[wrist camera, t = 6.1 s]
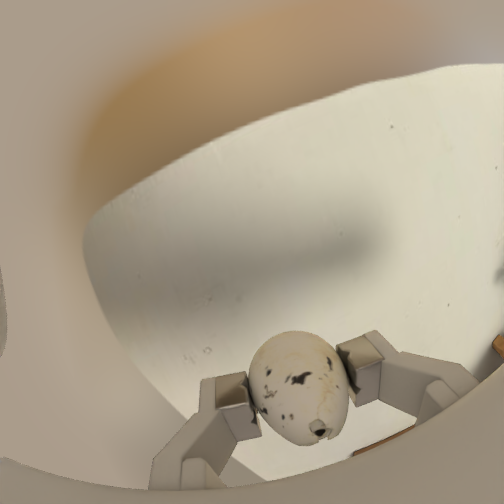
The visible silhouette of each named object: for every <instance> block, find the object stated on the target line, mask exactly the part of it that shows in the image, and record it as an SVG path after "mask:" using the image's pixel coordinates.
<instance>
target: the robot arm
mask: <svg viewBox="0 0 504 504" xmlns="http://www.w3.org/2000/svg"><path fill="white" fill-rule="evenodd" d="M336 352H337V354H338V355H339V357H340V359H341V361H342V363H343V365H344V368H345V371H346V375H347V380H348V389H349V396H350V398H351V400H352V401H353V403H354V405H355V407H359V406H362V405H364V404H367V403H369V402H372V401H374V400H377V399H379V400H380V401H382V402H384V403H386V404H388V405H391V406H393V407H395V408H397V409H399V410H401V411H404V412H406V413H408V414H410V415H412V416H415V417H417V421H416V424H415V427H414V428H413V429H411V430H409V431H408V432H406V433H404V434H402V435H400V436H398V437H396V438H394V439H392V440H390V441H388V442H386V443H384V444H382V445H379V446H377V447H375V448H373V449H370V450H368V451H366V452H363V453H361V454H358V455H356V456H353V457H351V458H348V459H346V460H343V461H340V462H337V463H334V464H331V465H328V466H325V467H322V468H319V469H316V470H312V471H309V472H305V473H302V474H298V475H294V476H290V477H286V478H282V479H277V480H272V481H267V482H262V483H256V484H250V485H245V486H237V487H229V488H228V487H227V486H226V485H225V484H224V483H223V482H222V480H221V479H220V478H219V475H220V473H221V472H222V470H223V468H224V466H225V465H226V463H227V461H228V459H229V458H230V456H231V454H232V452H233V451H234V449H235V447H236V445H237V442H238V441H243V440H248V439H253V438H257V437H261V436H262V432H261V427H260V421H259V419H258V416H257V413H258V410H257V408H256V406H255V404H254V402H253V400H252V397H251V394H250V388H249V382H248V377H247V374H246V372H245V371H243V372H238V373H233V374H228V375H223V376H217V377H213V378H207V379H202V381H201V383H200V397H199V412H198V413H195V414H193V416H192V417H191V418H190V419H189V420H188V421H187V422H186V424H185V425H184V426H183V427H182V428H181V429H180V430H179V431H178V432H177V434H176V435H175V436H174V437H173V438H172V439H171V440H170V441H169V442H168V444H166V446H165V447H164V448H163V449H162V450H161V451H160V452H159V453H158V454H157V455H156V456H155V457H154V458H153V462H152V468H151V474H150V480H149V487H148V490H142V489H130V488H121V487H113V486H105V485H100V484H94V483H88V482H84V481H79V480H74V479H70V478H66V477H62V476H58V475H55V474H51V473H48V472H45V471H41V470H38V469H35V468H32V467H29V466H27V465H24V464H21V463H19V462H16V461H14V460H12V459H9V458H0V504H504V363H503V364H502V365H501V366H500V367H499V368H498V369H497V370H496V371H495V372H493V373H492V374H491V375H490V376H489V377H488V378H486V379H485V380H484V381H483V382H482V383H480V382H479V381H478V380H477V379H476V378H475V377H474V376H473V375H472V374H471V373H470V372H468V371H467V370H466V369H465V368H464V367H463V366H462V365H461V364H458V363H453V362H448V361H443V360H438V359H434V358H429V357H424V356H420V355H416V354H411V353H407V352H403V351H402V352H400V353H399V352H398V351H397V350H396V349H395V348H394V347H393V346H392V345H391V344H390V343H389V342H388V341H387V340H386V339H385V338H384V337H383V336H382V335H381V334H380V333H379V332H378V331H377V330H373V331H371V332H368V333H366V334H363V335H362V336H359V337H357V338H354V339H351V340H348V341H346V342H343V343H340V344H337V345H336Z"/></svg>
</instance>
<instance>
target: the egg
mask: <svg viewBox="0 0 504 504" xmlns="http://www.w3.org/2000/svg"><path fill="white" fill-rule="evenodd" d="M248 382H249V388H250V394H251V397H252V400H253V402H254V404H255V406H256V408H257V410H258V411H259V413H260V414H261V416H262V417H263V418H264V420H265V421H266V422H267V423H268V424H269V425H270V426H271V427H272V428H273V429H274V430H275V431H276V432H277V433H278V434H280V435H281V436H282V437H284V438H285V439H287V440H288V441H290V442H292V443H294V444H296V445H298V446H311V445H314V444H316V443H318V442H319V440H321V439H323V438H325V437H328V440H329V439H332V438H334V437H336V436H337V435H338V434H339V433H340V431H341V430H342V428H343V426H344V423H345V420H346V417H347V412H348V404H349V389H348V380H347V375H346V371H345V368H344V365H343V363H342V361H341V359H340V357H339V355H338V354H337V352H336V351H335V350H334V348H333V347H332V346H331V345H330V344H329V343H327V342H326V341H325V340H323V339H322V338H320V337H319V336H317V335H314V334H312V333H309V332H304V331H289V332H284V333H281V334H278V335H276V336H274V337H272V338H270V339H269V340H268V341H266V342H265V343H264V344H263V345H262V346H261V347H260V348H259V349H258V351H257V352H256V354H255V355H254V357H253V359H252V362H251V365H250V368H249V376H248Z"/></svg>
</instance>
